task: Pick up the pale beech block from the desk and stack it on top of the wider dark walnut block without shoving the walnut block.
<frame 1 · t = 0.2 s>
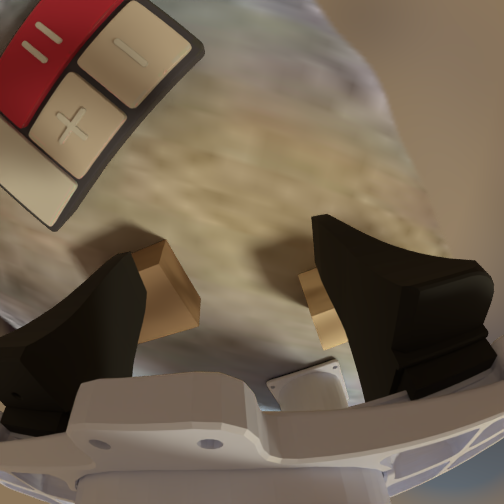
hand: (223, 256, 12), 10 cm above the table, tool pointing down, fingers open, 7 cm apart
beech block: (326, 284, 26), on the table
walnut base: (152, 280, 25), on the table
calculator: (76, 89, 17), on the table
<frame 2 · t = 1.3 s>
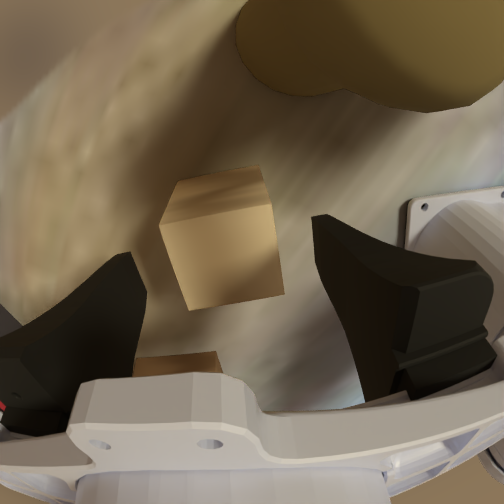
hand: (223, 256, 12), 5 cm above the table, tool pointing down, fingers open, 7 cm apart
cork: (300, 36, 12), on the table
beech block: (225, 209, 16), on the table
walnut base: (186, 377, 23), on the table
calculator: (30, 366, 23), on the table
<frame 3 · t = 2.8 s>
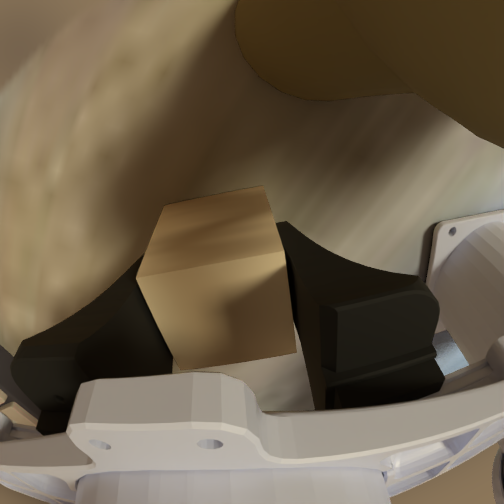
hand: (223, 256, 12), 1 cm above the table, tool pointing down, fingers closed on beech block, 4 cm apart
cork: (316, 26, 9), on the table
beech block: (223, 238, 13), on the table, touching gripper
calculator: (22, 392, 20), on the table
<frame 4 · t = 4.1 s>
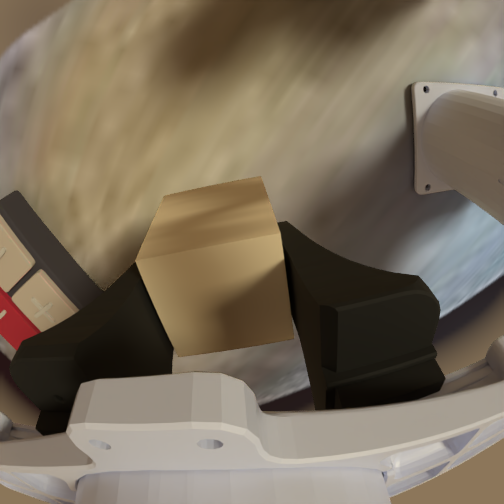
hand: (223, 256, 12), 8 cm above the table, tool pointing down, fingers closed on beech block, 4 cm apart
beech block: (221, 229, 14), point 7 cm above the table, touching gripper
calculator: (44, 286, 23), on the table
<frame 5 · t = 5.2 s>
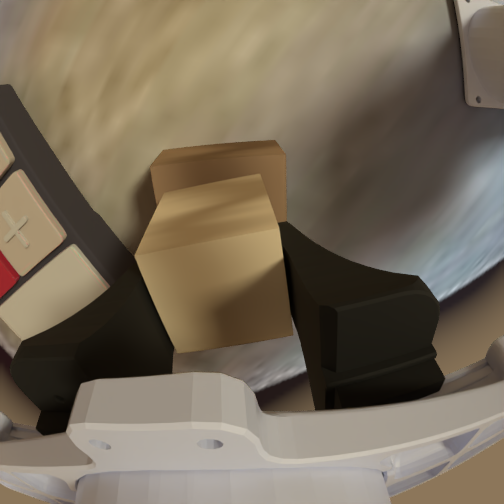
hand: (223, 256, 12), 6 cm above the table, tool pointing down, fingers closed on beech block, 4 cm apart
beech block: (221, 226, 14), point 5 cm above the table, touching gripper
walnut base: (223, 194, 18), on the table
calculator: (23, 215, 18), on the table
when the fingers open (6 cm above the table, at t = 5.7 s): beech block drops 1 cm, resting on walnut base.
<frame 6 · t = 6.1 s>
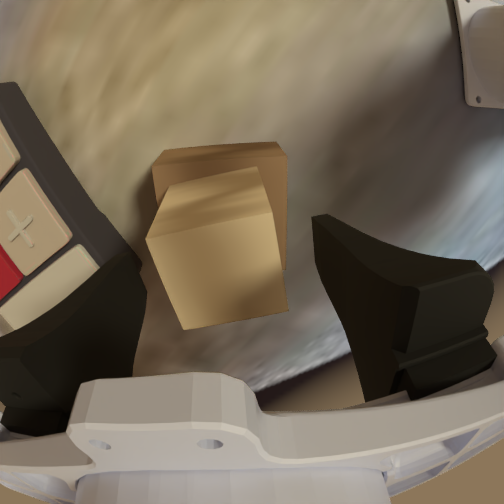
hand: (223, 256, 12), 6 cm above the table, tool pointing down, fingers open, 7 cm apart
beech block: (222, 215, 15), point 3 cm above the table, touching walnut base
walnut base: (223, 195, 18), on the table, touching beech block
calculator: (27, 214, 18), on the table
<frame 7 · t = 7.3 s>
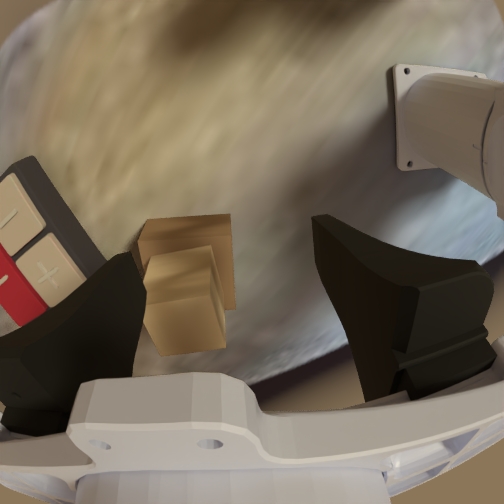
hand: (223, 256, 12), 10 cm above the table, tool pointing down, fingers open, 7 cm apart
beech block: (188, 276, 21), point 3 cm above the table, touching walnut base
walnut base: (192, 251, 24), on the table, touching beech block
calculator: (47, 255, 23), on the table
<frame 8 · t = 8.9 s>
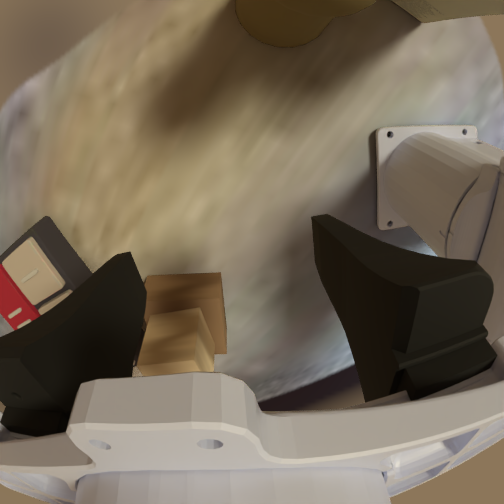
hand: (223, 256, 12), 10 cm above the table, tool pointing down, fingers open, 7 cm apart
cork: (283, 6, 16), on the table
beech block: (183, 330, 24), point 3 cm above the table, touching walnut base
walnut base: (189, 301, 27), on the table, touching beech block
calculator: (65, 298, 27), on the table
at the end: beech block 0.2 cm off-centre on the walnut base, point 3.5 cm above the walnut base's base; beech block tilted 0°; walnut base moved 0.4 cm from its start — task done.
